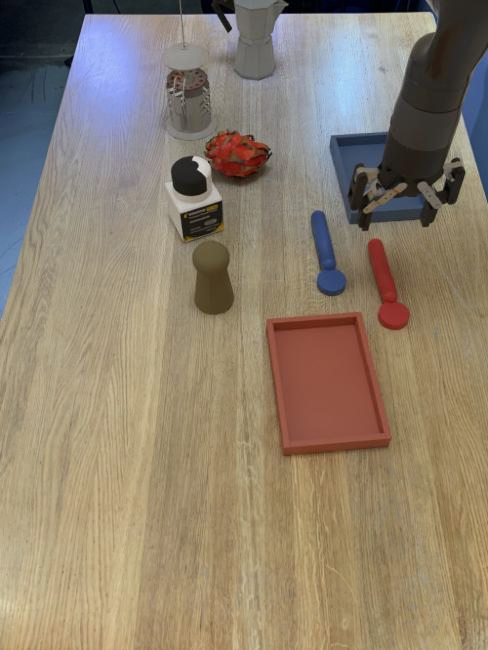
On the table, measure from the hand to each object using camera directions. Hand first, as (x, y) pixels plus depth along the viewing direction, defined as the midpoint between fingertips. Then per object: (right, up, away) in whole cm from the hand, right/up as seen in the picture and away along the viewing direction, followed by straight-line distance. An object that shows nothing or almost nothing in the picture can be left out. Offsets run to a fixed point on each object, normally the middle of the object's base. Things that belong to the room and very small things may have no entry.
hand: (393, 224), depth 84 cm
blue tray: (+2, +11, +21) cm, 24 cm away
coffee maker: (-20, +39, +41) cm, 60 cm away
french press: (-31, +23, +30) cm, 49 cm away
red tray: (-10, -22, -2) cm, 24 cm away
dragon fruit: (-22, +13, +23) cm, 35 cm away
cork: (-25, -10, +7) cm, 28 cm away
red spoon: (+1, -9, +7) cm, 11 cm away
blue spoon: (-8, -4, +11) cm, 14 cm away
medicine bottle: (-29, +3, +16) cm, 33 cm away
